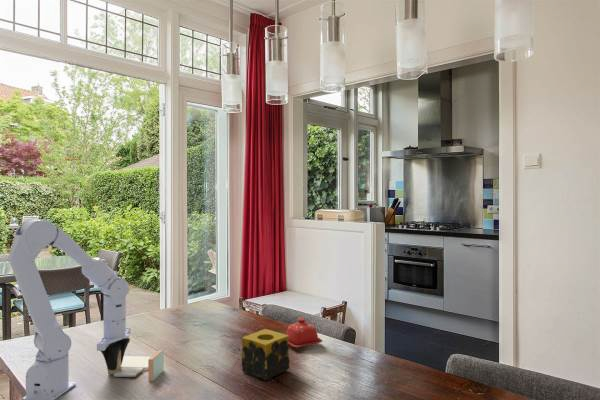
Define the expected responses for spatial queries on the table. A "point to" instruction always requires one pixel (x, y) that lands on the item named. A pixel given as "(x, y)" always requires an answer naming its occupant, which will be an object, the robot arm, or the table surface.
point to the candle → (265, 354)
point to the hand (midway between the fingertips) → (114, 367)
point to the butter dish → (302, 334)
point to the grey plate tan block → (124, 370)
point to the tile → (155, 365)
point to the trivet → (135, 362)
